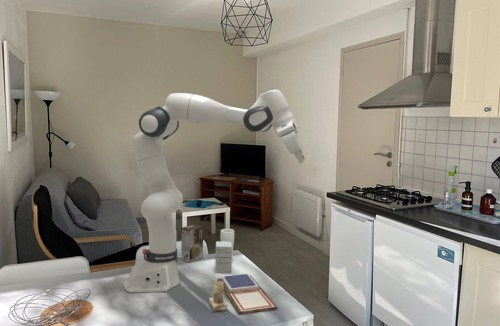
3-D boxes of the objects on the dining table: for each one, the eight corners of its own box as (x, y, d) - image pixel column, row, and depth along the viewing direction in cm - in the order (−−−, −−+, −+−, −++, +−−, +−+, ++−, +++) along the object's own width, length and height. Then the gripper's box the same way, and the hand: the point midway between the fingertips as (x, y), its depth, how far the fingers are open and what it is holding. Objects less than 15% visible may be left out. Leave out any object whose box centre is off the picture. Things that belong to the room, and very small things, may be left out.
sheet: (241, 311, 137) (241, 310, 137) (230, 293, 150) (230, 293, 150) (274, 306, 141) (274, 306, 141) (260, 290, 154) (260, 289, 154)
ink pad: (230, 292, 151) (230, 288, 151) (221, 279, 164) (221, 275, 163) (258, 288, 155) (258, 285, 155) (248, 276, 168) (248, 272, 167)
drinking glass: (231, 263, 185) (232, 233, 183) (218, 261, 186) (218, 231, 184) (235, 258, 191) (235, 229, 190) (221, 257, 193) (222, 228, 191)
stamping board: (238, 315, 136) (238, 312, 136) (217, 280, 164) (217, 278, 164) (277, 309, 141) (277, 306, 141) (250, 277, 169) (250, 275, 169)
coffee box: (194, 254, 194) (195, 223, 193) (203, 258, 190) (204, 226, 189) (180, 259, 187) (181, 227, 186) (189, 263, 183) (189, 230, 182)
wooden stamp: (213, 312, 137) (214, 287, 136) (209, 303, 144) (209, 279, 143) (227, 311, 139) (228, 286, 138) (222, 302, 145) (222, 278, 144)
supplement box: (215, 267, 179) (216, 241, 178) (231, 267, 180) (232, 241, 178) (214, 273, 172) (215, 246, 170) (231, 273, 172) (232, 246, 171)
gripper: (281, 131, 156) (296, 162, 157) (276, 132, 136) (293, 168, 137) (296, 124, 155) (310, 155, 155) (292, 125, 135) (309, 160, 135)
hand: (302, 161), depth 146 cm, fingers open, 8 cm apart
